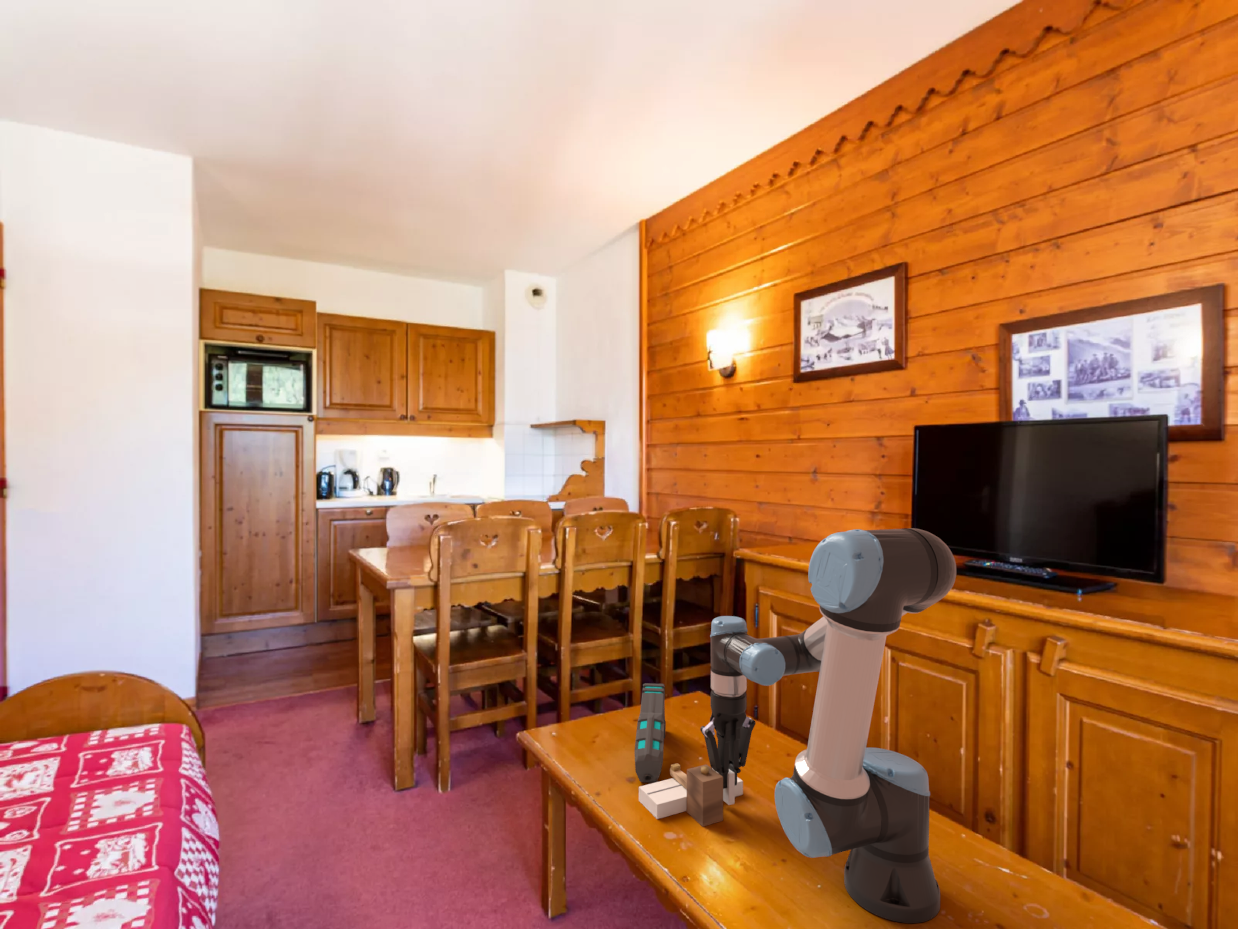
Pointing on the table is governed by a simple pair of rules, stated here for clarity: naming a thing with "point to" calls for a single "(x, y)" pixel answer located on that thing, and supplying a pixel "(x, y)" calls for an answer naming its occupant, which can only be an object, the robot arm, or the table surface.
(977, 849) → the table surface
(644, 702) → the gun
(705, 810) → the brown wooden clamp
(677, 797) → the board
